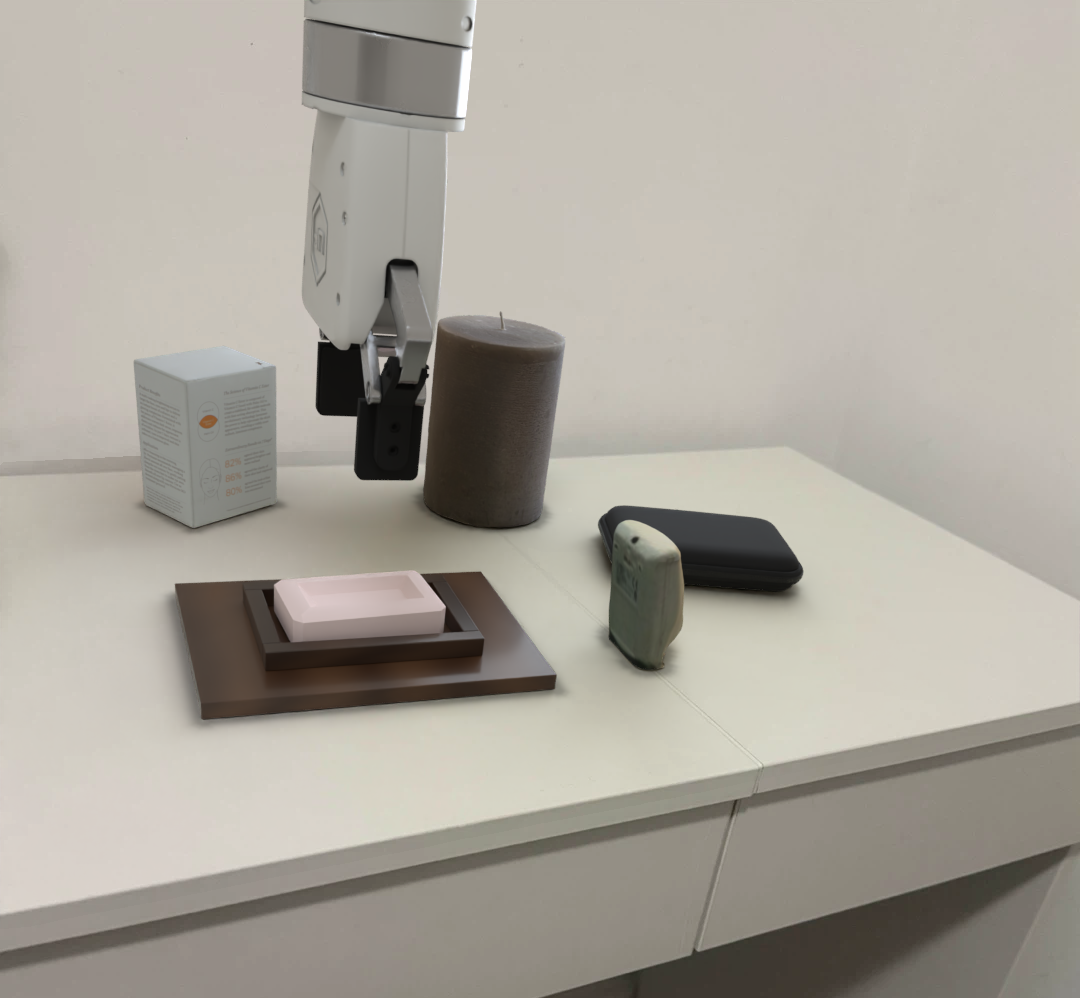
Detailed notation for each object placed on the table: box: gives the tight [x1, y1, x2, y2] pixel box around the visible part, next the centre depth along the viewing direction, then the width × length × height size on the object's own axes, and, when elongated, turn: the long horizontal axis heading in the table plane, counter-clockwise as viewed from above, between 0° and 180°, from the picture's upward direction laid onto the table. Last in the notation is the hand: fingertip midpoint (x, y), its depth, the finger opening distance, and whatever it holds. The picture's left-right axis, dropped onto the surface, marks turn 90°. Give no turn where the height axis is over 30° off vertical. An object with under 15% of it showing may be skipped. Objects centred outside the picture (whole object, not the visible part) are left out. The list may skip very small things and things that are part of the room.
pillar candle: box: [422, 311, 566, 528], centre depth 82 cm, size 10×10×15 cm
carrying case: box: [597, 505, 804, 592], centre depth 81 cm, size 11×3×15 cm
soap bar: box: [274, 569, 446, 642], centre depth 63 cm, size 5×9×2 cm, turn 115°
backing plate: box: [174, 571, 558, 720], centre depth 63 cm, size 20×14×2 cm
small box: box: [133, 345, 278, 529], centre depth 75 cm, size 8×6×10 cm
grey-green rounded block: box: [608, 520, 685, 671], centre depth 66 cm, size 6×5×8 cm
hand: (363, 444), depth 58 cm, fingers open, 9 cm apart
